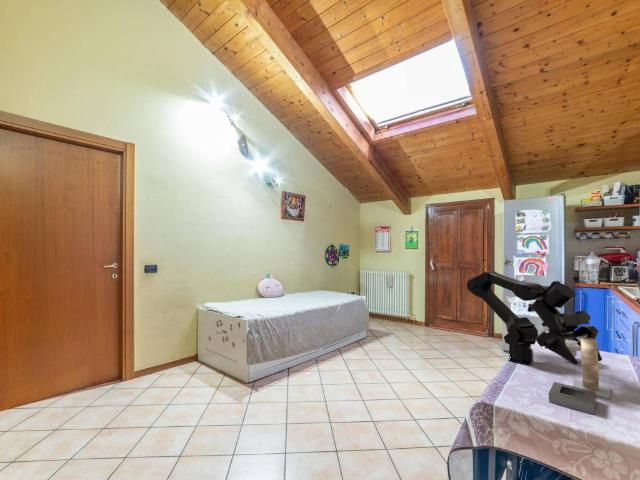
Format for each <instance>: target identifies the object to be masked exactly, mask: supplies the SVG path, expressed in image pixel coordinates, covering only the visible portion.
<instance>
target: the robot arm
mask: <svg viewBox="0 0 640 480" xmlns="http://www.w3.org/2000/svg"><path fill="white" fill-rule="evenodd" d="M493 285H496V286H498V287H501V288H503V289H506V290H508V291H511V292H512V293H513V295H514V296H516V297H517V298H518V299H520V300H522V301H524V302H527V301H528V302H529V301H534V302H531V303H528V306H527V309H526V310H527V312H528V313H530V312H535V313H536V314H537V316H538V317H539V318H540V319H541V321H542V323H541V325H542V327H546V328H547V329H545V330H543V332H541V333H539V331H538V328H537V327H536V324H534V323H533V322H532V321H530V319H529V318H528V317H527V316H523V317H519V316H517V314H516V313H514V312H513V311H512V310H511V309H510V307H508V305H506V304H505V303H504V302H503V301H502V300H501V299H500V298H499V296H498V295H496V294H495V292H493V289H492V286H493ZM466 289H467V290H468V291H469V292H470V293H471V294H472V295H473V296H475V297H478V298H479V299H480V298H481V299H482V300H483V301H484V302H485V303H486V305H487V306H488V307H489V308H490V309H491V310H492V311H493V312H494V313H495V315H497V316H498V317H499V318H500V320H501V321H502V322H504V324H505V326H506V331H507V334H505V335H504V336H503V339H504V343H505V344H508V348H509V349H508V350H509V352H508V353H509V358H508V359H507V360H509V359H510V360H509V362H514V363H518V364H521V365H526V366H530V365H531V364H532V363H533V361H534V349H533V348H532V345H536V343H537V344H538V345H539V347H541V348H542V347H544V349H548V350H549V351H551V352H553V353H555V354H556V355H558V356H560V357H561V358H563V359H564V358H565V359H566V360H568V361H567V362H570V363H571V364H572V365H575V366H576V365H578V364H579V362H578V360H577V359H576V357H574V356H573V354H572V353H571V351H570V350H569V349H568V347H567V346H566V344H565V339H566V340H568V339H572V340H573V341H577V342H578V343H577V344H578V345H579V346H580V347H581V338H591V339H595V340H596V337H598V333H599V332H600V331H599V330H598V328H596V327H595V325H591V324H590V321H591V315H589V313H587V312H586V311H585V310H579V311H575V313H572V314H567V313H561V312H560V311H559V309H562V308H563V307H564V306H565V305H567V304H568V303H569V302H570V301H572V300H573V299H574V298H575V297H577V296H576V292H575V290H574V289H573V288H572V287H569V286H568V285H566V284H564V283H561V281H559V280H555V281H552V282H551V283H550V285H548V287H543V285H541V284H540V283H536V282H535V283H534V282H531V281H520V280H518V279H514V278H512V277H509V276H507V275H503V274H502V273H498V272H497V271H494V270H491V271H489V270H487V271H484V272H482V273H481V274H479V275H477V276H474V277H473V278H469V279H468V280H467V283H466ZM588 324H589V325H588ZM580 325H581V326H580ZM598 348H599V347H597V350H598V362H602V360H603V358H602V354H600V350H599V349H598ZM510 357H511V358H510ZM566 360H565V361H566Z"/></svg>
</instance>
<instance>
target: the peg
mask: <svg viewBox="0 0 640 480" xmlns="http://www.w3.org/2000/svg"><path fill="white" fill-rule="evenodd" d="M597 348H598V340H597V339H596V338H595V339H591V338H581V351H580V354H581V355H580V356H581V375H582V376H581V378H582V380H581V381H583V387H584V388H585V389H588V390H592V391H599V385H600V377H599V376H600V375H599V374H600V373H599V372H600V371H599V361H598V351H599V349H598V350H597Z"/></svg>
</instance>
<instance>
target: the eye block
mask: <svg viewBox="0 0 640 480" xmlns="http://www.w3.org/2000/svg"><path fill="white" fill-rule="evenodd" d="M548 402H549V404H550V403H551V404H555V405H558V406H561V407H564V408H565V407H566V408H569V409H572V410H575V411H579V412H583V413H586V414H590V415H595V411H596V405H597V396H596V392H594V391H590V390H586V389H582V388H578V387H574V386H573V385H570V384H569V385H568V384H565V383H560V382H555V381H553V383H552V385H551V387H550V390H549V391H548Z"/></svg>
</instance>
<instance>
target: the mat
mask: <svg viewBox="0 0 640 480" xmlns="http://www.w3.org/2000/svg"><path fill="white" fill-rule="evenodd" d="M572 386H574V387H578V388H582V389H585V388H584V387H583V381H582V380H579V379H574V380H573V383H572ZM586 390H588V389H586ZM611 390H612V388H611V387H610V386H605V385H601V384H599V391H594V392H596V398H597V397H598V398H602V399H606V400H611ZM590 391H592V390H590Z"/></svg>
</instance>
